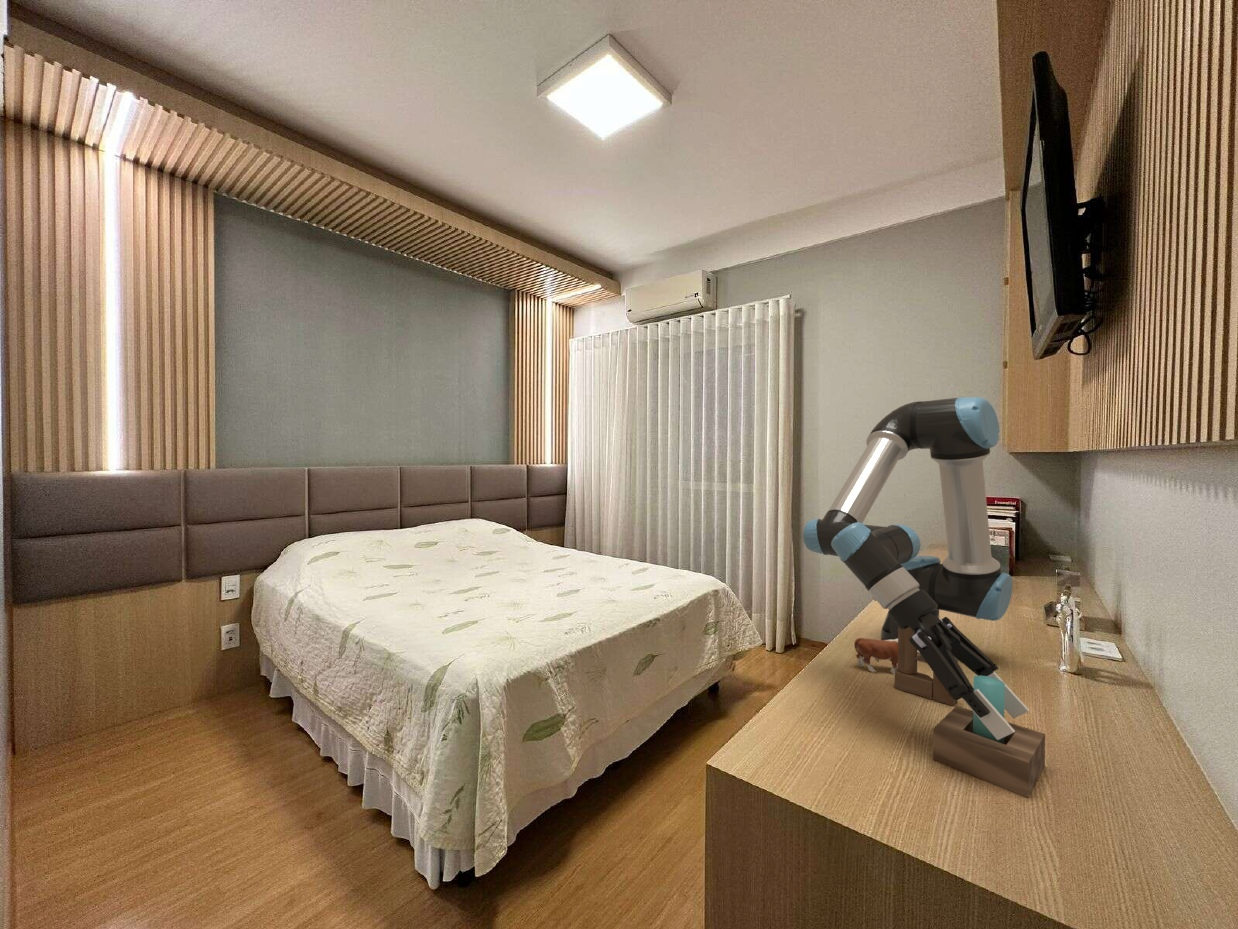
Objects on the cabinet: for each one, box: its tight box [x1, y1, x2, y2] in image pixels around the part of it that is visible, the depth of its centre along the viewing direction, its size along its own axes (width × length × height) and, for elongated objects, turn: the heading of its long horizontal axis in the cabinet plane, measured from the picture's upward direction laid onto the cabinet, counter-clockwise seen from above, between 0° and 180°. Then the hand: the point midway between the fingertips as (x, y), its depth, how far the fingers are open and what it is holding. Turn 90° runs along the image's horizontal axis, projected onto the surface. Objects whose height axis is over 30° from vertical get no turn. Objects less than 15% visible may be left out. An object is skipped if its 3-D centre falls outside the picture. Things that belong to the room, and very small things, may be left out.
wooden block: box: [893, 627, 959, 707], centre depth 103 cm, size 4×11×18 cm, turn 43°
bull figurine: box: [853, 637, 920, 675], centre depth 115 cm, size 4×13×8 cm, turn 71°
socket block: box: [932, 705, 1046, 798], centre depth 79 cm, size 12×12×5 cm
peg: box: [972, 675, 1006, 744], centre depth 79 cm, size 4×4×12 cm
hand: (1014, 724), depth 77 cm, fingers open, 9 cm apart
